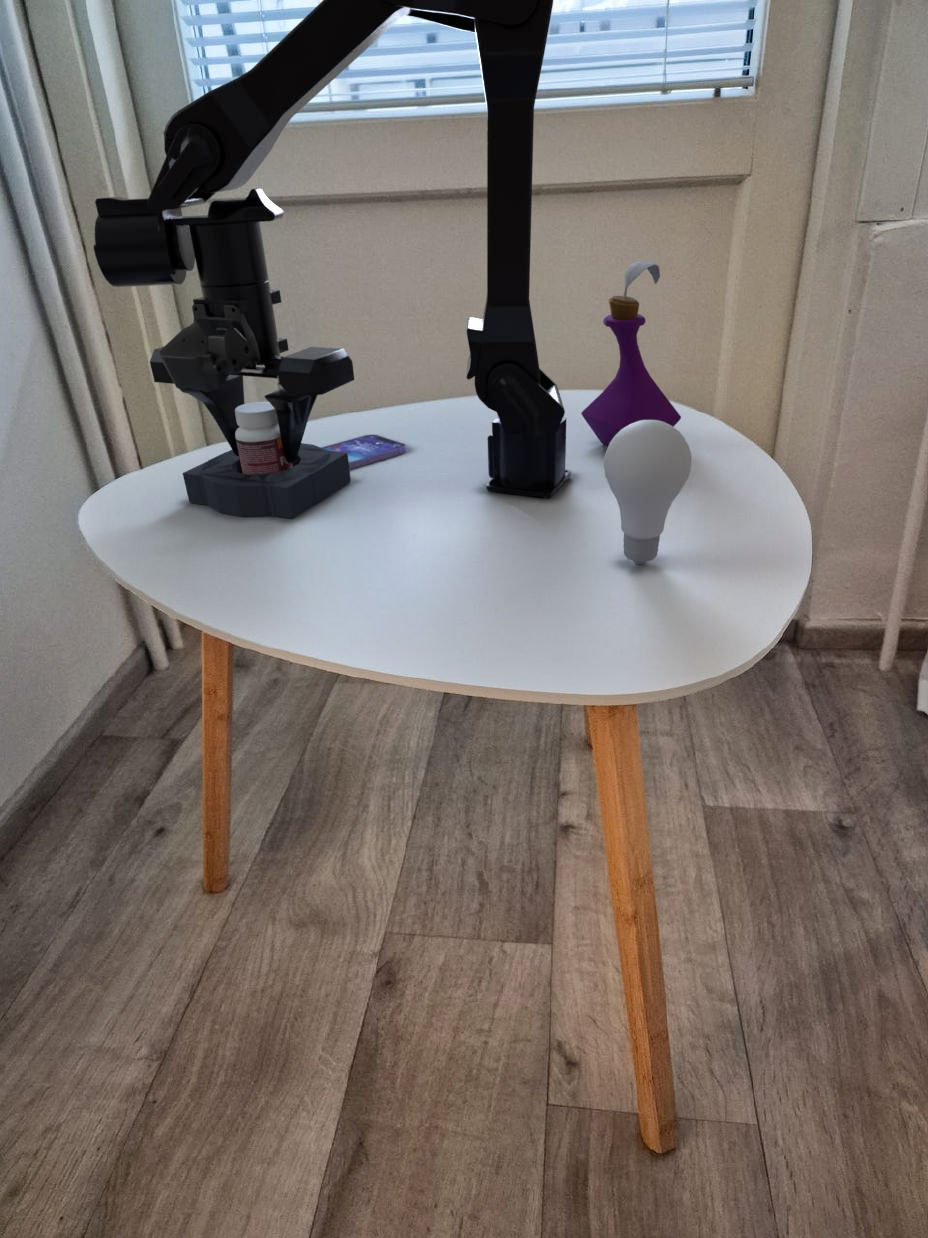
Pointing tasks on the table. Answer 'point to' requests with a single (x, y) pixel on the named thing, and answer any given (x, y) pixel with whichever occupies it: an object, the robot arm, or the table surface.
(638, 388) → the purple potion bottle
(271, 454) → the pill bottle
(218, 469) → the dark grey flat block
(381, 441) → the smartphone
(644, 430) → the lightbulb
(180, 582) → the table surface
